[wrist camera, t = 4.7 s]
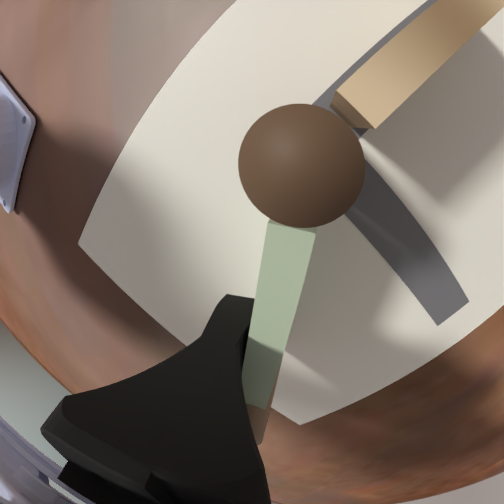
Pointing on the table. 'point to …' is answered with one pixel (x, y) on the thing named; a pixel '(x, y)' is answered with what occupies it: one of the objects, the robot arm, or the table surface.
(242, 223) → the board
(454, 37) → the fixed fence
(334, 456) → the table surface
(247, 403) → the hinged panel
